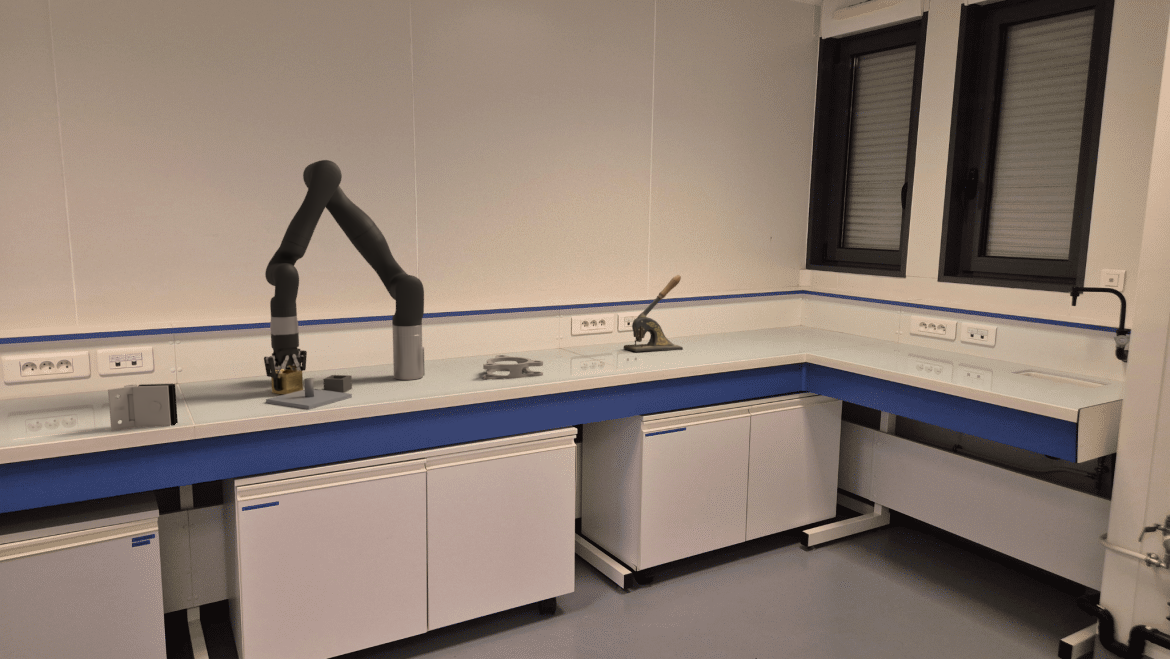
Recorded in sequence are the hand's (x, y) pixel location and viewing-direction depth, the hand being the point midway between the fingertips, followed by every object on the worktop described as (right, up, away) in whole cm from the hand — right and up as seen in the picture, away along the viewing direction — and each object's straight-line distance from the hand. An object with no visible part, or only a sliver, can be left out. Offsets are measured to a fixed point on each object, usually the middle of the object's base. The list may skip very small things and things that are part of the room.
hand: (287, 388), depth 221 cm
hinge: (-20, -7, -38) cm, 43 cm away
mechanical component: (+61, +2, +32) cm, 69 cm away
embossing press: (+115, +9, +84) cm, 143 cm away
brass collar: (0, -1, 0) cm, 1 cm away
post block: (+10, -3, -9) cm, 14 cm away
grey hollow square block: (+14, -1, +3) cm, 14 cm away
